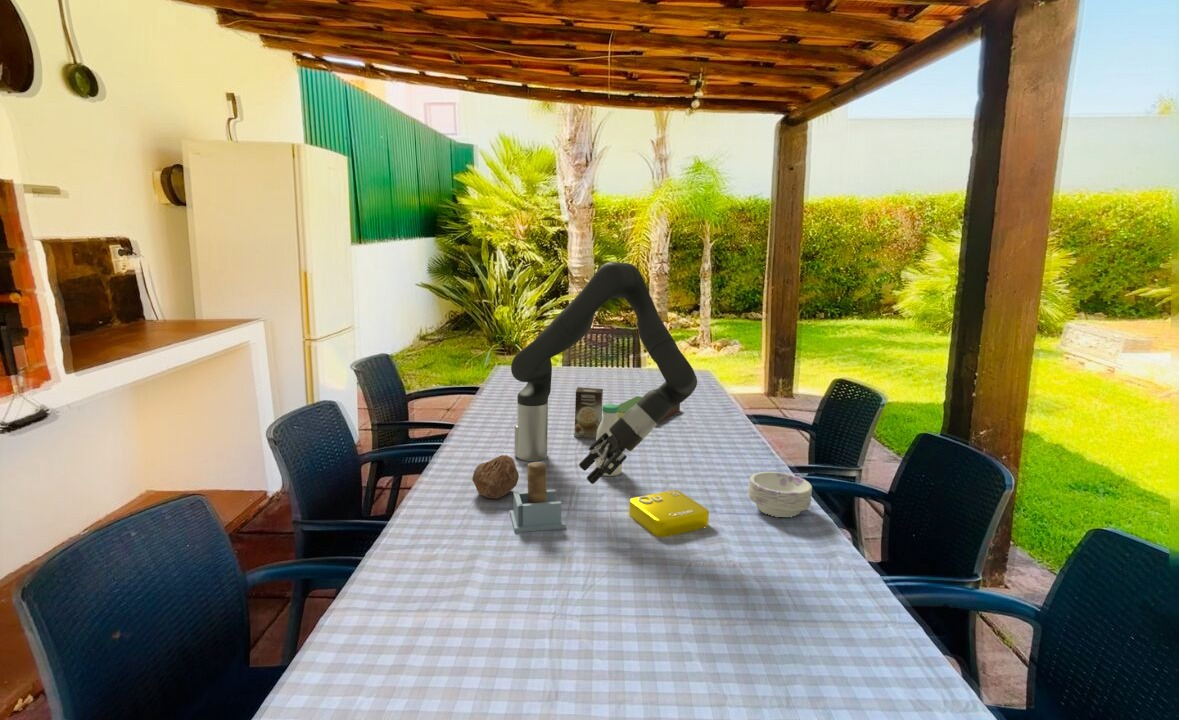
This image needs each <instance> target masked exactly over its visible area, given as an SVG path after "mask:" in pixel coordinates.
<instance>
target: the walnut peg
mask: <svg viewBox="0 0 1179 720" xmlns="http://www.w3.org/2000/svg"><path fill="white" fill-rule="evenodd" d="M526 465H527V466H526V467H527V491H528V504H529V503H543V502H547V493H546V490H547V464H546V463H544V462H540V461H532V462H530V463H528V464H526Z"/></svg>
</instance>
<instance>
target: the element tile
mask: <svg viewBox="0 0 1179 720" xmlns="http://www.w3.org/2000/svg"><path fill="white" fill-rule="evenodd" d="M628 506H629V508H628V509H629V510H628V515H629V517H630V518H631V519H633V520H634V521H636V522H637V523H638V524H639V525H641V526H642V527H643V528H645V530H647V531H648V532H649V533H650V534H652V535H653V536H655V537H657V536H658V537H659V538H667V537H666V536H668V537H672V536H671V535H673V536H676V535H675V534H677V535H681V534H680V533H682V534H684V533H683V532H686V533H688V532H687V531H691V532H693V531H692V530H695V531H697V530H696V529H700V528H704V527H707V526H708V527H709V517H710V511H709V509H708V508H707V507H705V506H703V505H702V504H701V503H699V502H697V501H696V500H694V499H692V498H691V497H689V496H688V495H686V494H684V493H683V492H682V491H679V490H677V489H674V490H667V491H662V492H656V493H652V494H645V495H640V496H635V497H632V498H630V499H629V505H628ZM708 527H707V528H708ZM704 529H705V528H704ZM700 530H701V529H700ZM658 537H657V538H658Z"/></svg>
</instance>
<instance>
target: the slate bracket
mask: <svg viewBox="0 0 1179 720" xmlns="http://www.w3.org/2000/svg"><path fill="white" fill-rule="evenodd" d="M546 493H547V502H543V503H529V504H528V490H527V491H526V490H524V491H513V509H512V510H511V509H510V510H509V515H510V520H511V524H512V528H513V531H514V532H513V533H515V532H516V533H525V532H538V531H547V530H548V531H550V530H562V529H564V530H565V529H566V528H567V524H566V521H565V520H564V517H563V515H562V501H560V500H557V490H556V489H546Z"/></svg>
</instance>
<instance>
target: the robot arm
mask: <svg viewBox="0 0 1179 720" xmlns="http://www.w3.org/2000/svg"><path fill="white" fill-rule="evenodd" d="M612 299H624V300H625V301H626V302H627V303H628V304H629V305H630V306H631V308H632V310H633V311H634V314H635V317H636V324H637V331H638V335H639V336H638V337H639V339H640V341H641V343H642V345H643V346H644V348H645V350H646V351H647V353H648V354H649V356H650V358H651V359H652V360H653V362H654V363H655V364H656V365H657V368H658V369H659V372H660V374H661V375H662V376H663V379H664V382H663V383H662V384H661V385H660V386H658V387H657V388H655V389H651V390H649V391H647V392H646V393H645V395H643V396H641V397H642V398H641V399H640V400H639V401H638V402H637V404H635V405H634V406H633V407H631V408H630V409H629V410H628V411H627V412H626V413H625V414H624V415H623V416H622V417H621V418H620V419H618V421H617V422H616V423H615V424H614V425H613V426H612V427H611V428H610V429H609V431H610V432H611V433H612V435H611V436H609V435H608V434H607V433H604V434H603V435H602V436H601V437H600V438H599V439H598V440H597V441H595V442H594V443H593V444H591V445H590V446H589V448H588V449H589V452H588V454H587V456H585V457H584V459H583V460H581V461H580V463H579V464H578V466H579V467H580V468H581V469H582V470H583V471H584V472H585V471H587V470H588V469H589V468H590V467H591V466H592V465H593V464H594V463H596V460H597V459H599V458H601V462H600V464H599V466H598V467H596V468H594V469H593V470H592V471H591V472H590V473H589V474H588V475H587V476H586V480H587V481H588V482H589V483H590V484H591V485H594V484H596V482H597V481H599V479H600V478H602V477H603V474H608V475H611V474H612V473H613V472H614V470H615V469H616V468H617V467H618V466H619V465H620V464H621V463H622V464H623V462H624V461H625V460H626V459H627V455H626V454H625V453H624V451H625V450H627V451H629V452H632V451H633V450H634V449H635V448H636V447H637V446H638V445H639V444H640V443H641V442H643V440H644V439H645V438H646V437H647V436H648V435H649V434H650V433H651V432H652V431H653V430H654V428H655V427H656V426H657V425H659V424H660V423H661V422H660V421H661V420H662V419H663V418H664V416H666V414H667V413H668V412H669V411H670V410H671V409H673V408H674V407H676V406H677V405H679V404H680V405H681V403H683V402H684V401H686V399H688V398H689V397H690V396H691V395H692V394H693V392H694V391H695V390H696V388H697V386H698V378H697V375H696V373H695V370H694V368H693V367H692V366H691V363H690V362H689V361H688V360H687V358H686V356H685V355H684V354H683V352H682V351H681V350H680V349H679V347H678V345H677V343H676V341H675V339H674V338H673V336H672V335H671V333H670V332H669V329H668V328H667V327H666V325H665V324H664V322H663V320H662V319H661V317H660V314H659V313H658V310H657V309H656V306H655V304H654V301H653V299H652V297H651V294H650V293H649V290H648V287H647V285H646V282H645V281H644V278H643V275H642V274H641V272H640V270H639V268H638V267H637V266H635V265H633V264H632V263H628V262H617V261H609V262H607V263H604V264H603V265H601V266H600V267H599V268H598V270H596V272H595V273H594V275H592V277H591V278H590V280H589V281H588V282H587V284H586V285H585V286H584V287H583V289H582V290H581V291H580V292H579V293H578V294H577V295H576V297H574V299H572V301H571V302H570V303H568V305H567V306H566V307H565V308H564V309H562V311H561V312H560V313H558V315H556V316H555V318H554V319H553V320H552V321H551V322H550V323H549V325H547V326H546V327H545V329H543V330H542V331H541V332H540V333H539V335H538V336H537V337H536V338H535V339H534V340H532V341H531V342H530V343H529V344H527V345H526V346H525V347H523V349H521V350H520V351H519V352H517V353H516V354H515V356H514V357H513V359H512V361H511V363H510V364H511V365H510V371H511V375H512V377H513V378H514V379H515V380H517V381H518V382H521V383H526V385H525V386H524V388H522V389H521V390H520V391H519V392H518V393H517V404H516V405H517V406H516V407H517V418H516V420H517V425H515V427H514V457H516V458H518V459H520V460H522V461H527V462H528V461H529V462H539V461H542V460H545V459H546V458H548V437H549V436H548V433H549V432H548V425H549V424H548V422H549V421H548V420H549V419H548V418H549V397H550V394H551V390H552V378H553V377H552V375H553V372H552V371H553V364H552V358H554V357H556V356H557V355H560V354H561V353H563V352H565V351H567V350H569V349H570V348H572V347H573V346H574V345H576V344H577V343H578V342H580V340H581V339H582V338H584V337H585V336H586V335H587V334H588V332H589V331H590V330H591V328H592V326H593V323H594V319H595V318H594V317H595V314H596V312H598V310H599V309H600V308H601V307H602V306H603V305H604V304H605V303H607V302H609V301H610V300H612ZM659 422H660V423H659ZM604 463H605V464H604ZM612 466H613V467H612ZM610 467H612V468H611V469H610Z"/></svg>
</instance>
